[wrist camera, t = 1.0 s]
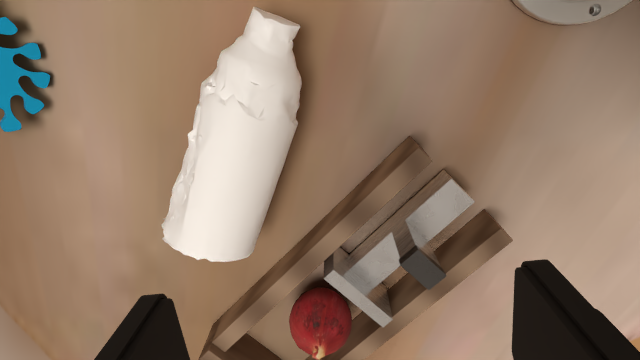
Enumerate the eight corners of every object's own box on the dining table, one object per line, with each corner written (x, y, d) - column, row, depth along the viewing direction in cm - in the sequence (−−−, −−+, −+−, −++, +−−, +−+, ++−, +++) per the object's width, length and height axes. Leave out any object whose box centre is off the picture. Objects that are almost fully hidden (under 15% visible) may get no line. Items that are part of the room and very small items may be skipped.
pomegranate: (291, 272, 41) (281, 327, 33) (349, 271, 40) (352, 325, 33) (295, 321, 42) (287, 382, 35) (350, 319, 42) (354, 381, 35)
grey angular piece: (427, 153, 36) (453, 185, 28) (480, 205, 37) (518, 248, 30) (324, 249, 39) (323, 300, 32) (377, 293, 41) (387, 352, 33)
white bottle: (330, 36, 33) (330, 35, 26) (260, 230, 39) (244, 276, 32) (237, -1, 32) (209, -13, 25) (180, 203, 38) (144, 243, 31)
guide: (409, 135, 36) (421, 151, 31) (495, 220, 38) (518, 246, 33) (213, 324, 43) (198, 360, 38) (295, 385, 45) (291, 425, 41)
